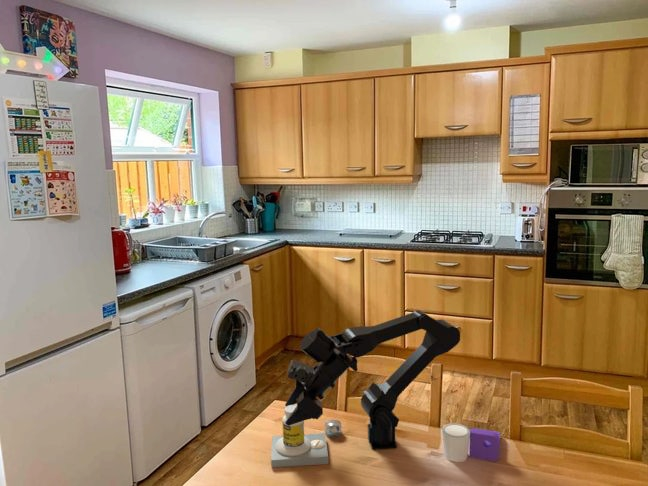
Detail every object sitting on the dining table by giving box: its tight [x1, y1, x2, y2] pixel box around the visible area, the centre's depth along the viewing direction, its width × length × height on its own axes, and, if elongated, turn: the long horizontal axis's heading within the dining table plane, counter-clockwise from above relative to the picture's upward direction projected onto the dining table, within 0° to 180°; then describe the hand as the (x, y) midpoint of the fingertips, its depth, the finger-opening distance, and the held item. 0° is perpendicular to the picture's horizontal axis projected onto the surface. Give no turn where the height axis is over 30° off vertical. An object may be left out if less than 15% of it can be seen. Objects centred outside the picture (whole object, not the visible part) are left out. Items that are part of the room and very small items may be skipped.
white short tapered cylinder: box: [441, 422, 470, 463], centre depth 133 cm, size 7×7×7 cm
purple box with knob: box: [468, 428, 501, 462], centre depth 137 cm, size 12×7×7 cm, turn 160°
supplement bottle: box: [282, 404, 305, 449], centre depth 135 cm, size 5×5×10 cm
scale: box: [270, 432, 329, 469], centre depth 136 cm, size 14×11×3 cm
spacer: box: [324, 418, 342, 439], centre depth 145 cm, size 4×4×3 cm
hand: (286, 414), depth 134 cm, fingers open, 9 cm apart
